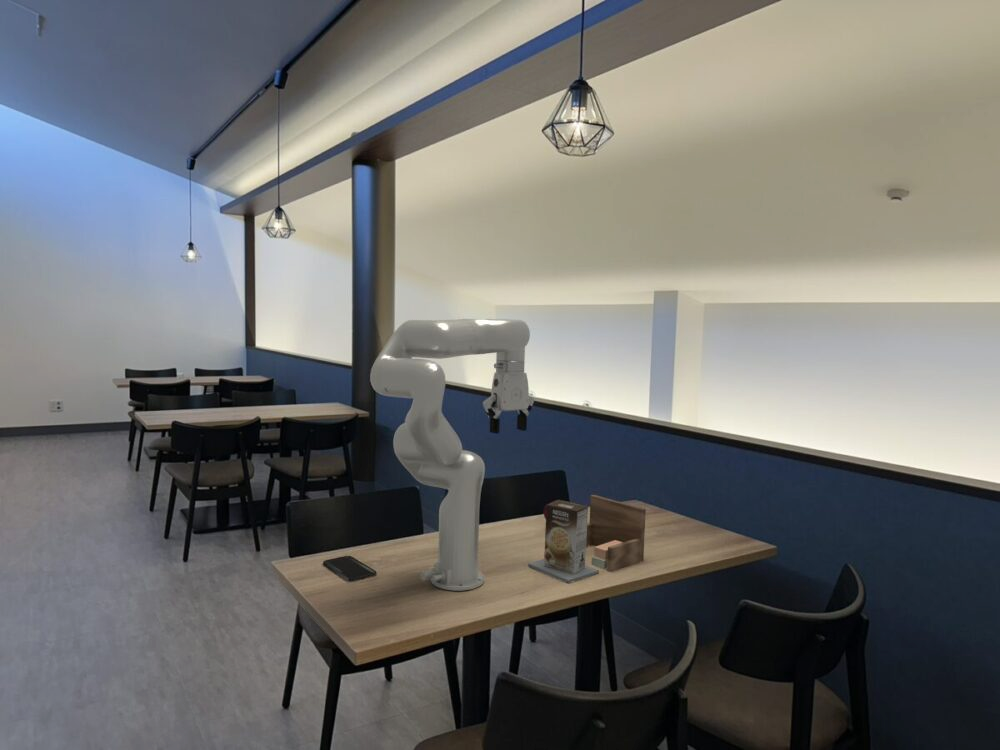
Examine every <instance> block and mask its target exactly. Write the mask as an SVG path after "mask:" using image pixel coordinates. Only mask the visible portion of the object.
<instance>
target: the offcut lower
mask: <svg viewBox="0 0 1000 750" xmlns="http://www.w3.org/2000/svg"><path fill="white" fill-rule="evenodd" d="M594 565H595V567H598V568H600V569H603V570H605V569H607V560H603V559H600V558H598V557H595V556H591V566H594Z"/></svg>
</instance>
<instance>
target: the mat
mask: <svg viewBox="0 0 1000 750" xmlns="http://www.w3.org/2000/svg"><path fill="white" fill-rule="evenodd" d="M528 566H529V568H531V569H533V570H535V569H536V570H535V571H538V572H540V573H543V574H546V575H547V574H548V576H550V577H552V578H554V577H555V578H554V579H557V580H559V579H560V580H559V581H561V580H562V582H564V581H565V582H564V583H566V582H568V583H569V584H571V583H573V582H572V581H574V582H577V581H580V580H583V579H586V578H589V577H592V576H595V575H598V574H599V572H600V571H599V569H597V568H594V567H591V566H590V565H589V566H588V565H586V564H585V568H583V569H582V570H580V571H578V572H577V573H575V574H571V573H568V572H564V571H561V570H557V569H554V568H551V567H547V566H544V558H542V559H540V560H536V561H532V562H528ZM594 574H595V575H594ZM588 576H589V577H588ZM585 577H586V578H585ZM582 578H583V579H582ZM579 579H580V580H579ZM576 580H577V581H576ZM570 582H571V583H570ZM568 583H567V584H568Z"/></svg>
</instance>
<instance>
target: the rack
mask: <svg viewBox="0 0 1000 750" xmlns="http://www.w3.org/2000/svg"><path fill="white" fill-rule="evenodd" d="M589 498H590V502H589V523H588V522H587V537H586V547H589V546H594V547H596V546H599V545H602V544H605V543H608V542H611V541H614V540H617V541H620V542H623V543H620V544H617V545H613V546H610V547H608V558H607V568H606V571H608V572H614V571H617V570H619V569H622V568H626V567H628V566H631V565H634V564H637V563H641V562H643V561H644V554H645V553H644V552H645V534H646V533H645V531H646V530H645V529H646V512H647V511H646V508H644V507H640V506H636V505H633V504H629V503H625V502H621V501H618V500H615V499H611V498H608V497H603V496H600V495H598V494H591V495H590V497H589Z"/></svg>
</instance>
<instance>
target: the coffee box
mask: <svg viewBox="0 0 1000 750" xmlns="http://www.w3.org/2000/svg"><path fill="white" fill-rule="evenodd" d="M546 506H547V509H546V519H545V535H544V536H545V537H544V538H545V539H544V553H543V554H544V558H543V559H544V566H547V567H551V568H554V569H557V570H561V571H564V572H568V573H571V574H575V573H577V572H578V571H580V570H582V569H583V568H585V565H586V557H587V556H586V554H587V553H586V552H587V546H586V537H587V524H588V517H589V515H588V513H589V506H587V505H584V504H579V503H575V502H570V501H566V500H562V499H557V500H553V501H552V502H550V503H547V504H546Z"/></svg>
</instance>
